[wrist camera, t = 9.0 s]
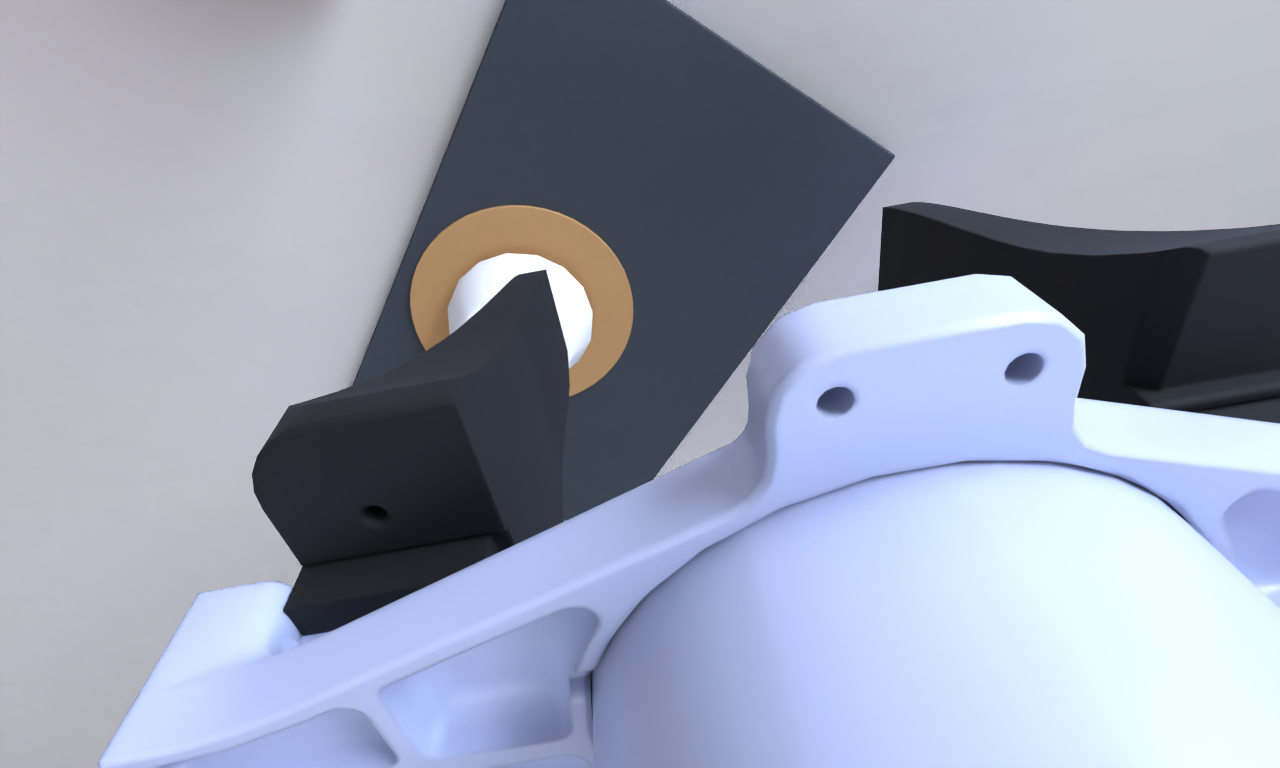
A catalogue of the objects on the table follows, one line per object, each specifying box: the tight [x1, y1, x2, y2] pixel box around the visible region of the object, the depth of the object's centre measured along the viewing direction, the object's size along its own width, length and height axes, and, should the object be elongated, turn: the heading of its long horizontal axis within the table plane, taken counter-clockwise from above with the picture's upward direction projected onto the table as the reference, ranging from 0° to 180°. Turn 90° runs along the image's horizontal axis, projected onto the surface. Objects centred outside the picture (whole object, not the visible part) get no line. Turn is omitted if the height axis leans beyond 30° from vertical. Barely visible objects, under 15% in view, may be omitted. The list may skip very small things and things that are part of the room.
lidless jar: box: [448, 253, 593, 368], centre depth 22 cm, size 5×3×5 cm
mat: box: [353, 0, 895, 520], centre depth 24 cm, size 13×20×1 cm, turn 150°
